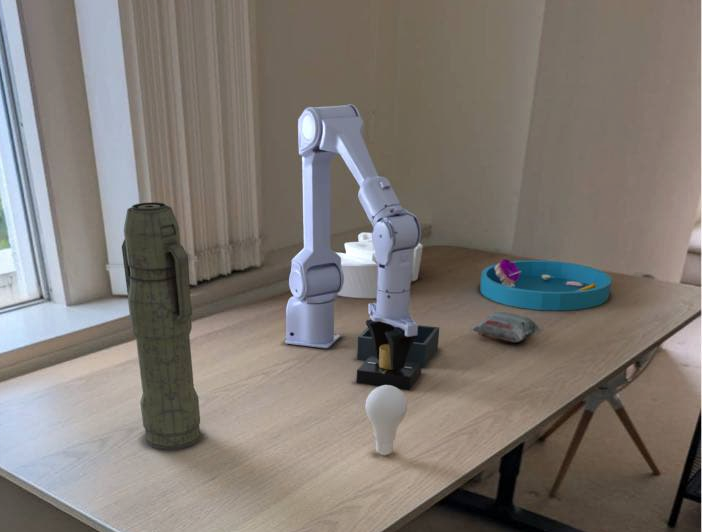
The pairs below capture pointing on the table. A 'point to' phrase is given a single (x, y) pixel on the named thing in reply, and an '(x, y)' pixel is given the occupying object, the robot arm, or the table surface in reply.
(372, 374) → the block
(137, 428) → the table surface
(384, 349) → the tap knob
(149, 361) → the thermos
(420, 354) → the dark teal open box
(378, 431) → the lightbulb
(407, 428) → the table surface
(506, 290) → the round blue tray
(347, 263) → the wavy white extrusion
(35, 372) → the table surface
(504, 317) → the packaged food
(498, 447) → the table surface
